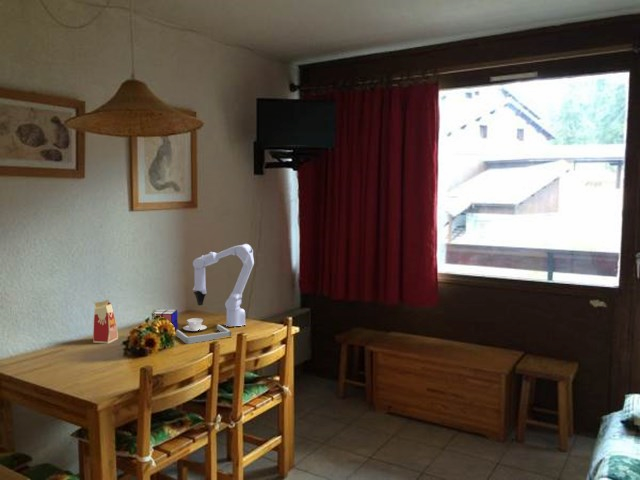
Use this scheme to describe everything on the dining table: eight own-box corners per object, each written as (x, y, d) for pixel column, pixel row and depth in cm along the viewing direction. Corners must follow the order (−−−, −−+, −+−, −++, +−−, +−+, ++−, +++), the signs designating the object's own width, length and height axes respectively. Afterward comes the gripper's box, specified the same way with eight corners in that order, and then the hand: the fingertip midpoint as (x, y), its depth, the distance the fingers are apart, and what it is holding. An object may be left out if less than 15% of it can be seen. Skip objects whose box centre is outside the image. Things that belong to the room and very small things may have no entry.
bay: (219, 330, 277) (219, 324, 277) (231, 337, 264) (231, 331, 263) (176, 335, 266) (176, 329, 265) (186, 344, 252) (186, 337, 252)
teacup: (184, 334, 270) (184, 323, 269) (181, 328, 281) (181, 318, 280) (208, 332, 274) (208, 321, 274) (204, 326, 285) (204, 316, 285)
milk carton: (118, 338, 260) (117, 297, 258) (109, 343, 251) (107, 301, 249) (100, 337, 261) (99, 296, 259) (90, 342, 252) (89, 300, 250)
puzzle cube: (172, 333, 270) (171, 314, 269) (152, 333, 270) (151, 313, 269) (177, 328, 280) (177, 309, 279) (158, 328, 280) (158, 309, 279)
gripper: (188, 278, 291) (188, 303, 292) (197, 282, 279) (197, 308, 280) (200, 277, 295) (201, 301, 296) (210, 281, 282) (210, 307, 284)
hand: (200, 305), depth 288 cm, fingers closed
